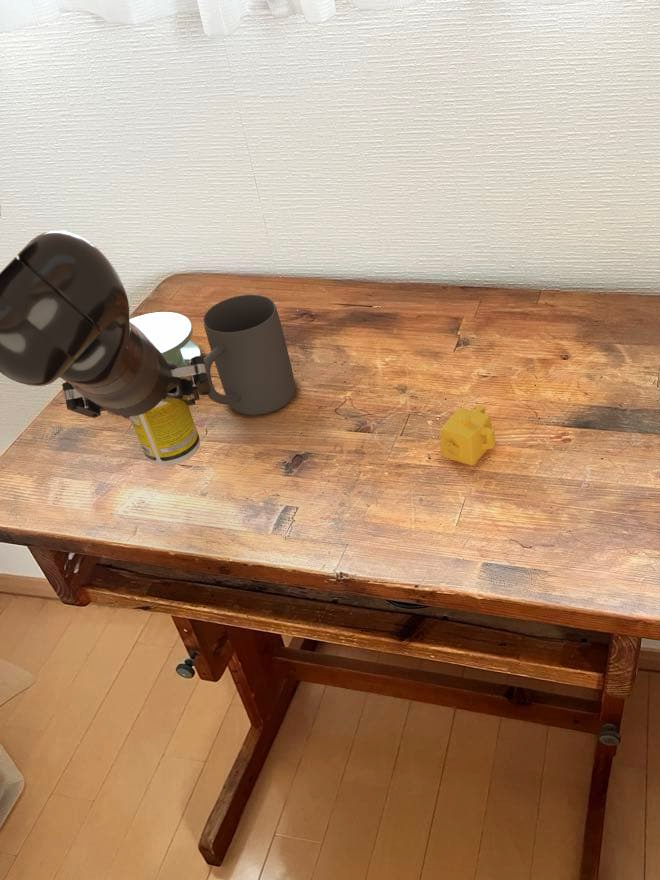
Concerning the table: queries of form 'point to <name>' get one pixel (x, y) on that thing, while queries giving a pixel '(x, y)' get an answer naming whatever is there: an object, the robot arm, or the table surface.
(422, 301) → the table surface
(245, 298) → the mug
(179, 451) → the pill bottle
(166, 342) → the stand
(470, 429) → the yellow snap cube
